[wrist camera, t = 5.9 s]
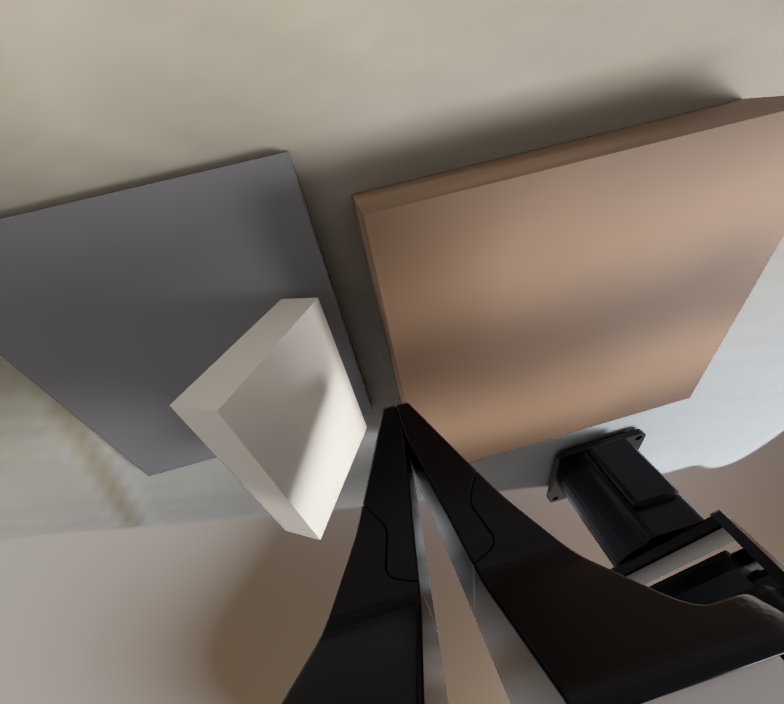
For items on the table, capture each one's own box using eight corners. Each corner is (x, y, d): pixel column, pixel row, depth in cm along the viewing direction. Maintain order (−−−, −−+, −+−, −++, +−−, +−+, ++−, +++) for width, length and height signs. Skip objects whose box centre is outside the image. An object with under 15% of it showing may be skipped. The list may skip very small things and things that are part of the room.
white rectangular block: (320, 540, 11) (285, 530, 12) (366, 427, 15) (339, 423, 15) (216, 411, 7) (169, 405, 7) (317, 297, 11) (281, 299, 11)
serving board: (639, 361, 18) (689, 397, 16) (407, 428, 17) (422, 476, 15) (744, 98, 11) (868, 90, 8) (351, 194, 10) (363, 215, 8)
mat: (371, 405, 16) (372, 412, 15) (153, 467, 15) (148, 476, 15) (288, 151, 9) (287, 152, 9) (-108, 243, 8) (-129, 249, 8)
